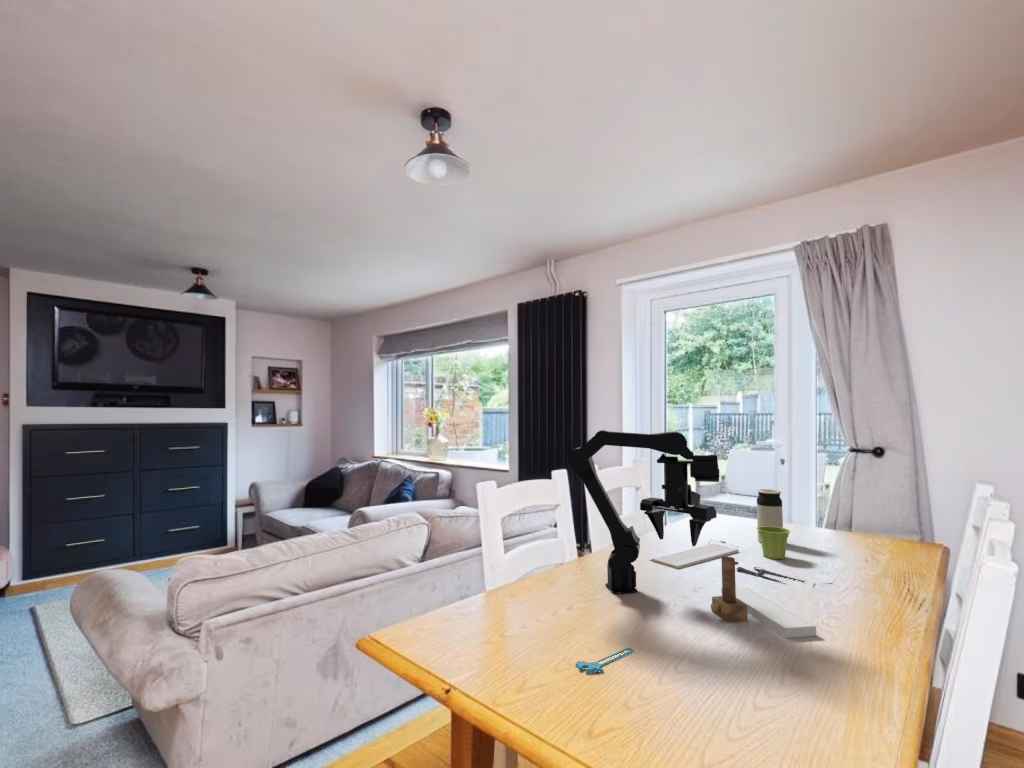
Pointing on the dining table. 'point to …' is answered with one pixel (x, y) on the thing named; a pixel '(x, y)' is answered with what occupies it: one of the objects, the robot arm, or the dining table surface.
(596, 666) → the blue flat looped piece
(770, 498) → the travel mug
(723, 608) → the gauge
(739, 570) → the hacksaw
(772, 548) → the plant pot
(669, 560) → the baseboard
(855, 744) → the dining table surface
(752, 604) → the board
